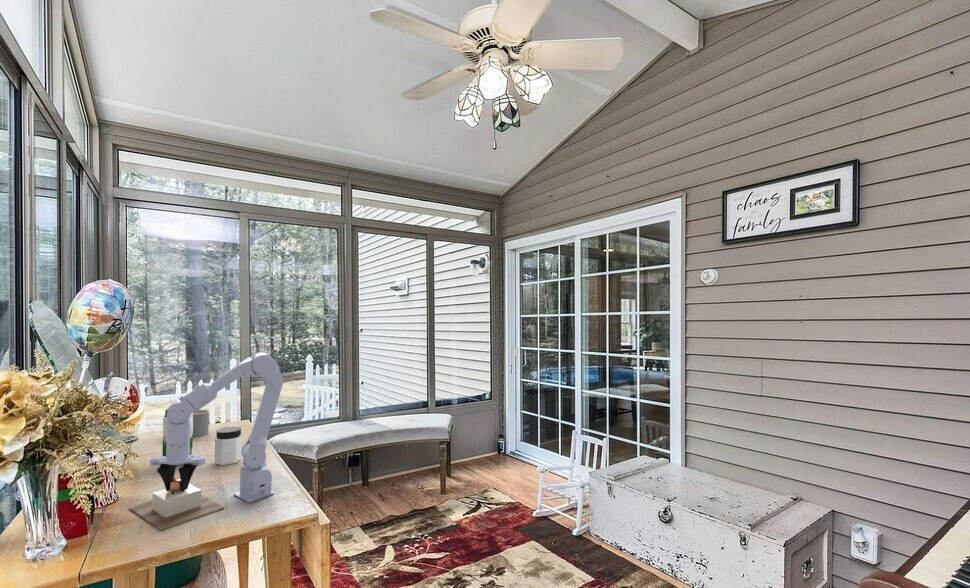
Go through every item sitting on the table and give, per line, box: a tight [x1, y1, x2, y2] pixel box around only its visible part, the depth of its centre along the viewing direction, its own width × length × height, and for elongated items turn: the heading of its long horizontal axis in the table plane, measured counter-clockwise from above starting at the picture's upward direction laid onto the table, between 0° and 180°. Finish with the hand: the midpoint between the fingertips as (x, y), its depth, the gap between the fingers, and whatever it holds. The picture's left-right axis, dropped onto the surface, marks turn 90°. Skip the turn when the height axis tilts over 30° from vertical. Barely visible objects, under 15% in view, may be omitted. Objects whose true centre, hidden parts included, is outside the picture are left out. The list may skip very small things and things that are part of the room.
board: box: [128, 494, 225, 532], centre depth 130 cm, size 22×16×1 cm
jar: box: [213, 426, 243, 466], centre depth 169 cm, size 9×8×12 cm
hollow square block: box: [151, 483, 202, 518], centre depth 130 cm, size 9×9×5 cm
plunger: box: [170, 477, 181, 494], centre depth 130 cm, size 4×4×7 cm
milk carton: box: [161, 408, 194, 467], centre depth 167 cm, size 9×9×20 cm
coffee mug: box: [193, 409, 210, 438], centre depth 202 cm, size 13×10×10 cm
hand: (177, 489), depth 130 cm, fingers closed on plunger, 4 cm apart
